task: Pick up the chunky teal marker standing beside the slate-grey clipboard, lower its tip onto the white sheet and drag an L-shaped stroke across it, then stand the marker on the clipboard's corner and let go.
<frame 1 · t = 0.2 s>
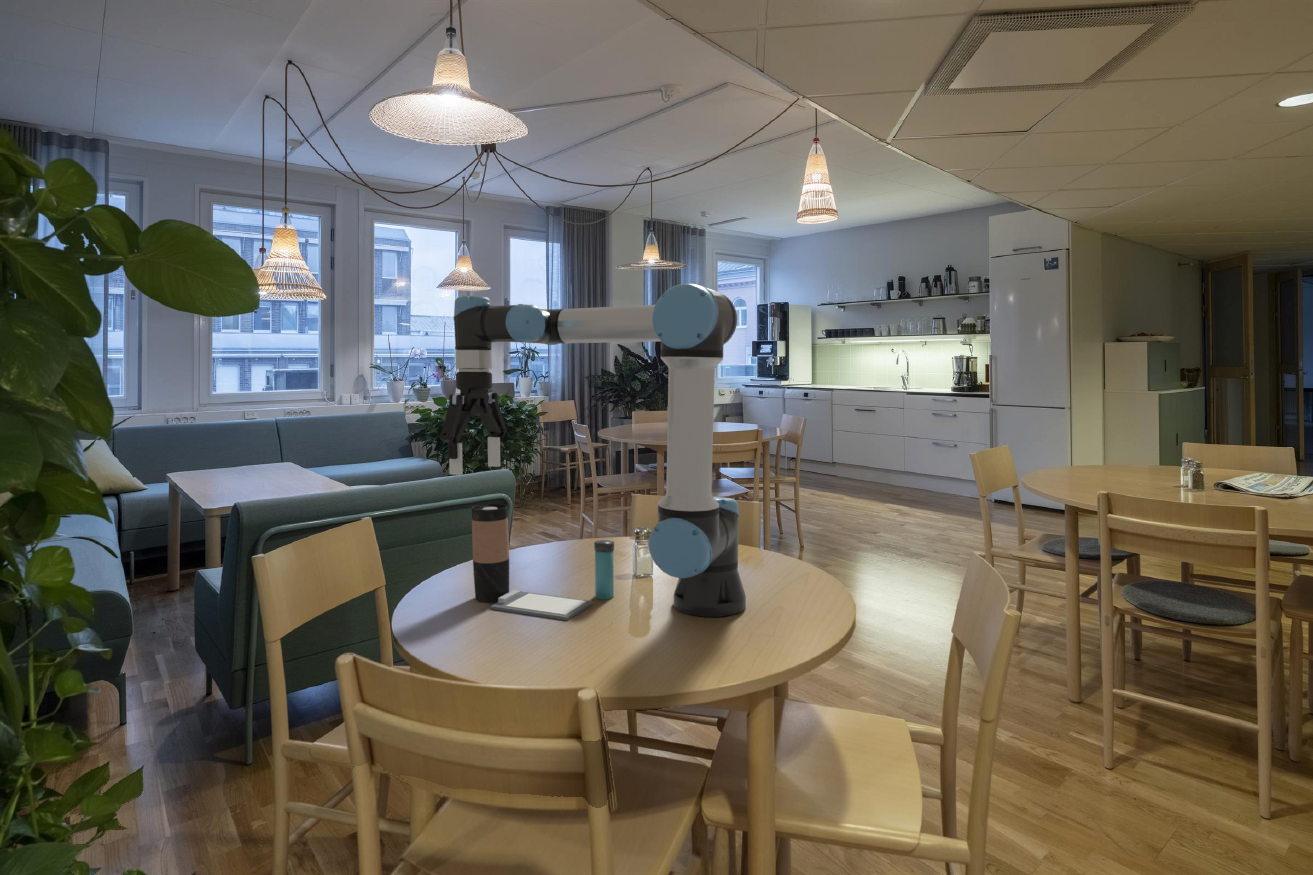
hand: (475, 470, 157), 28 cm above the table, fingers open, 13 cm apart
clipboard: (542, 606, 153), on the table
marker: (604, 596, 160), on the table
travel mug: (492, 598, 158), on the table
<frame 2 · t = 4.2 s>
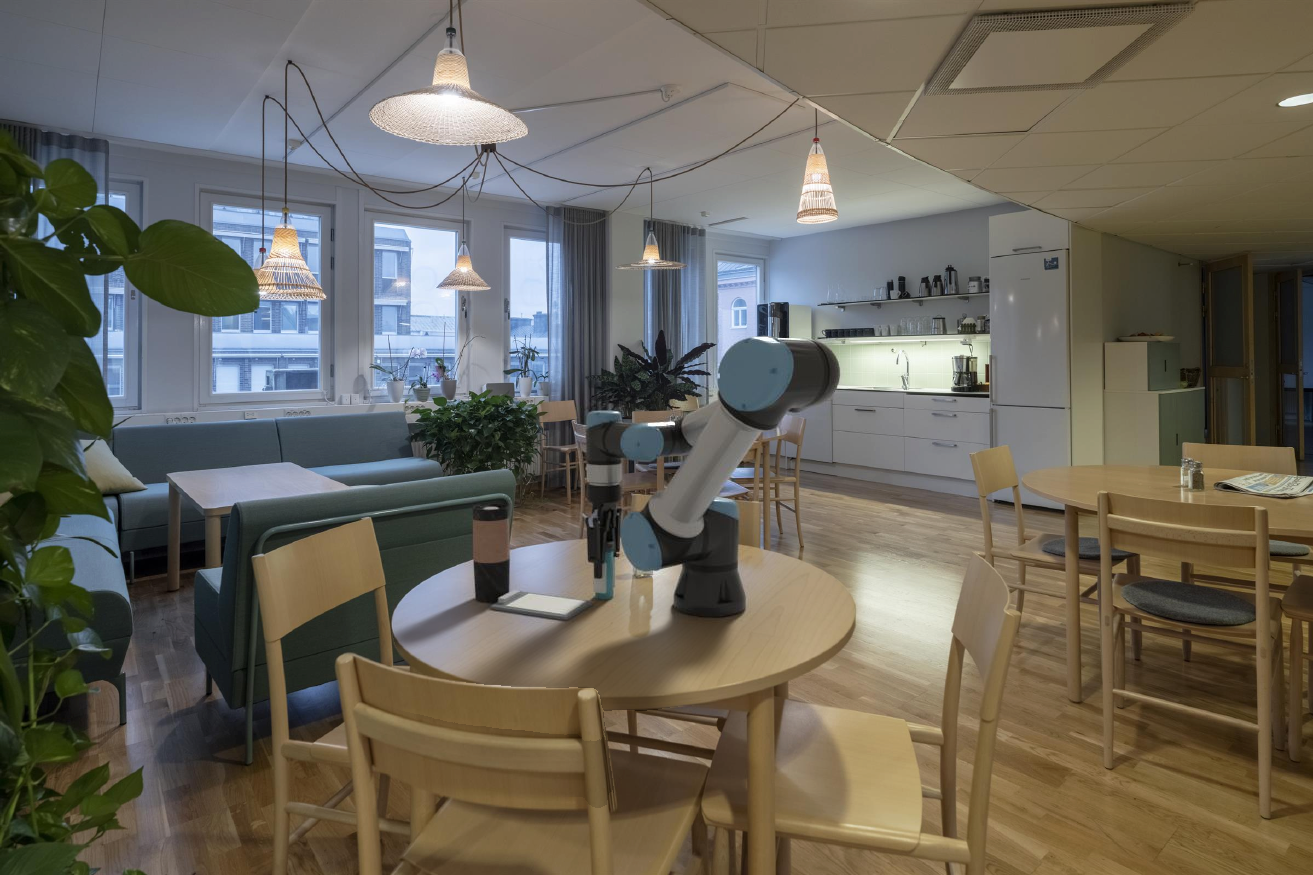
hand: (604, 589, 159), 2 cm above the table, fingers closed on marker, 4 cm apart
marker: (604, 596, 160), on the table, touching gripper
everything else where it was.
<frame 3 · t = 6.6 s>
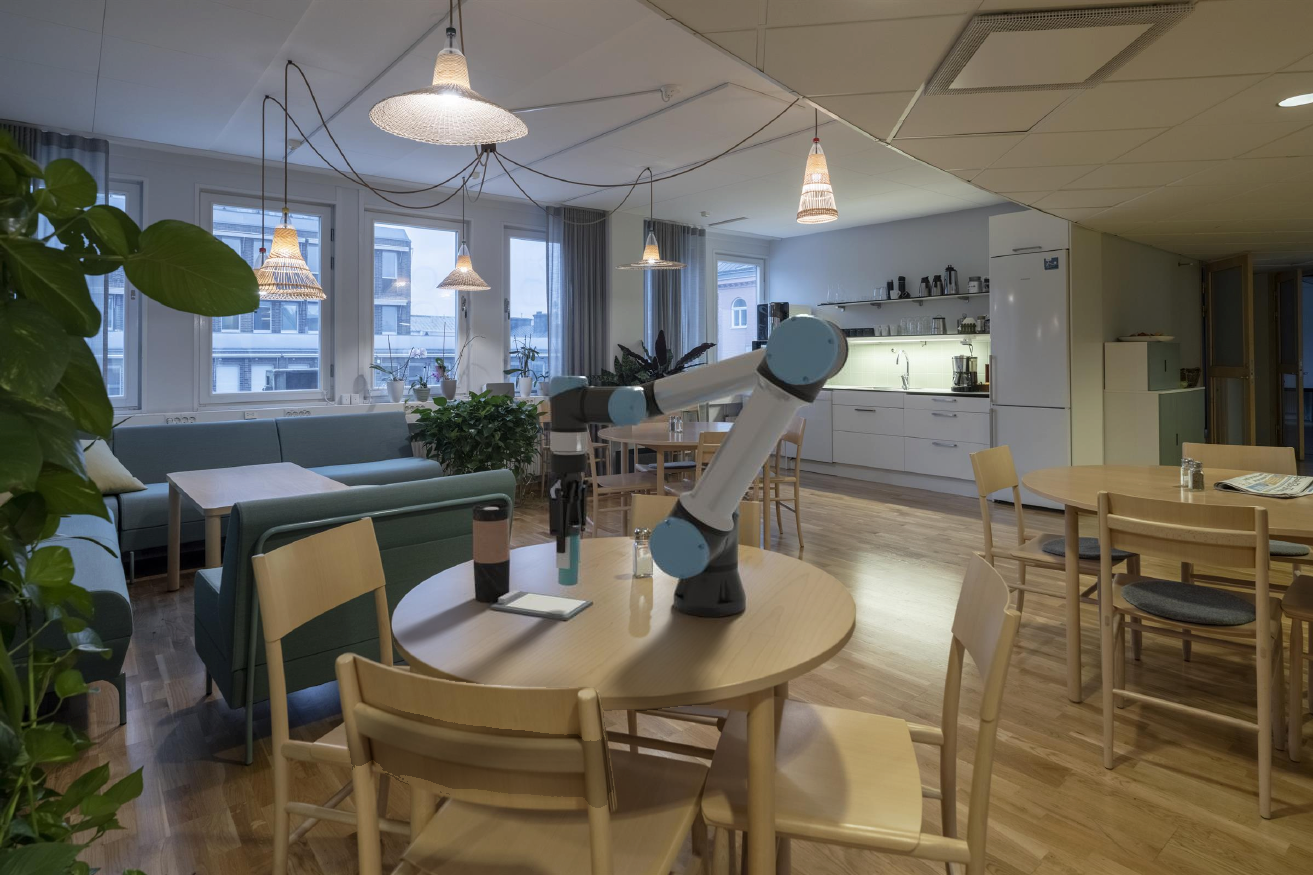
hand: (568, 564, 151), 9 cm above the table, fingers closed on marker, 4 cm apart
marker: (567, 582, 151), point 5 cm above the table, touching gripper
everything else where it was.
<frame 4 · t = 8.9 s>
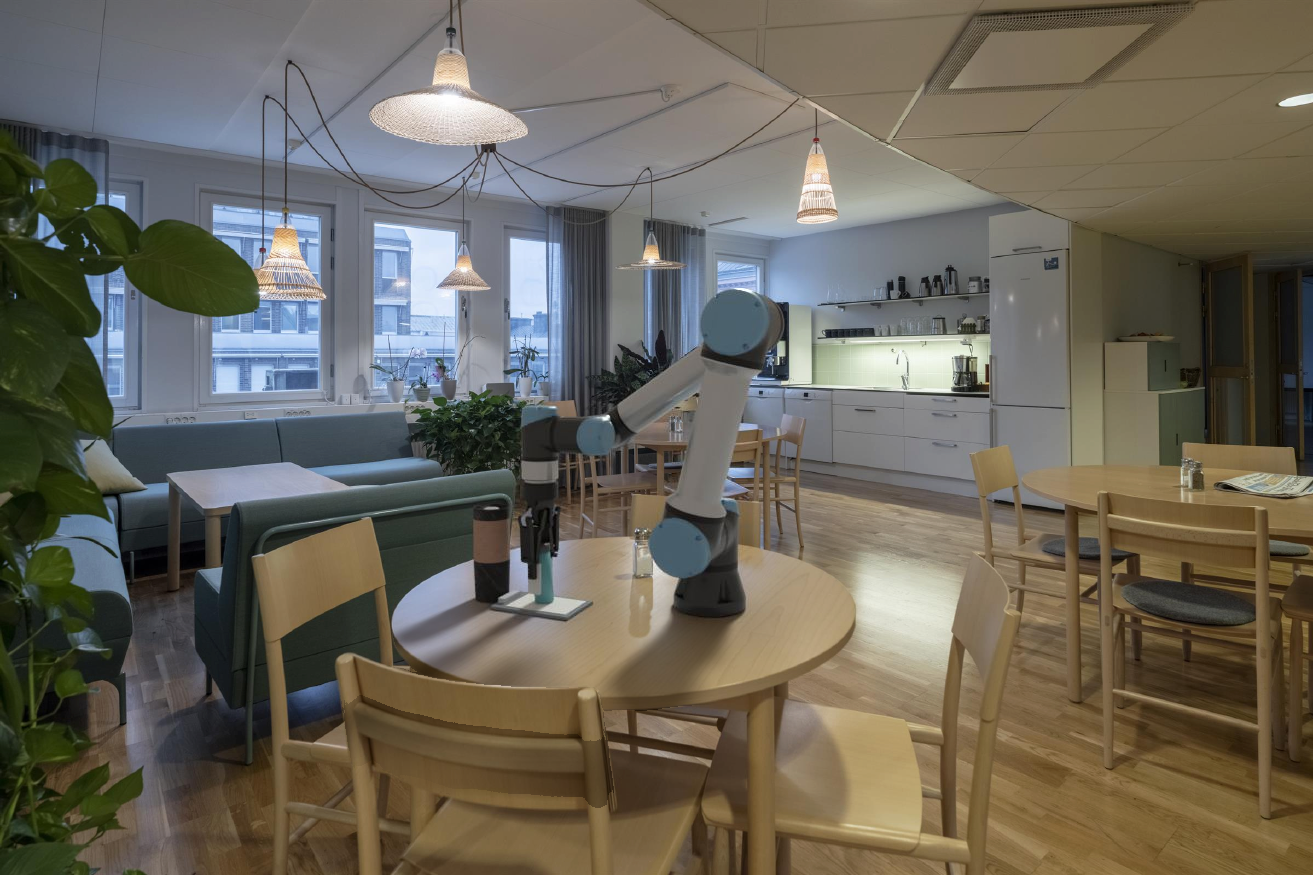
hand: (540, 590, 154), 3 cm above the table, fingers closed on marker, 4 cm apart
marker: (544, 600, 154), point 1 cm above the table, touching gripper
everything else where it was.
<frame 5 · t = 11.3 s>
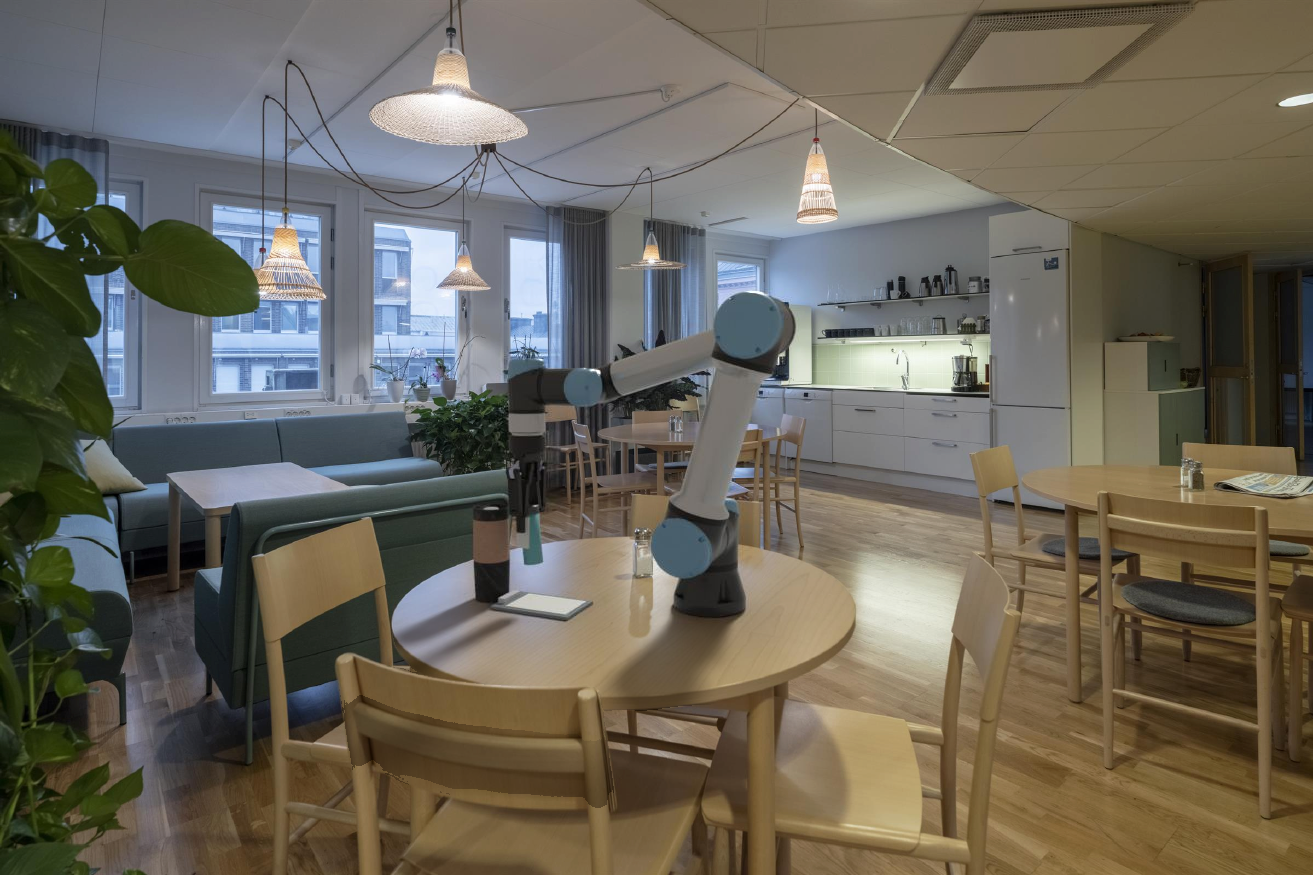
hand: (528, 545, 153), 13 cm above the table, fingers closed on marker, 3 cm apart
marker: (533, 562, 153), point 9 cm above the table, tilted 5°, touching gripper
everything else where it was.
when the fingers open (4 cm above the table, at t = 13.4 s): marker stays where it is, resting on clipboard.
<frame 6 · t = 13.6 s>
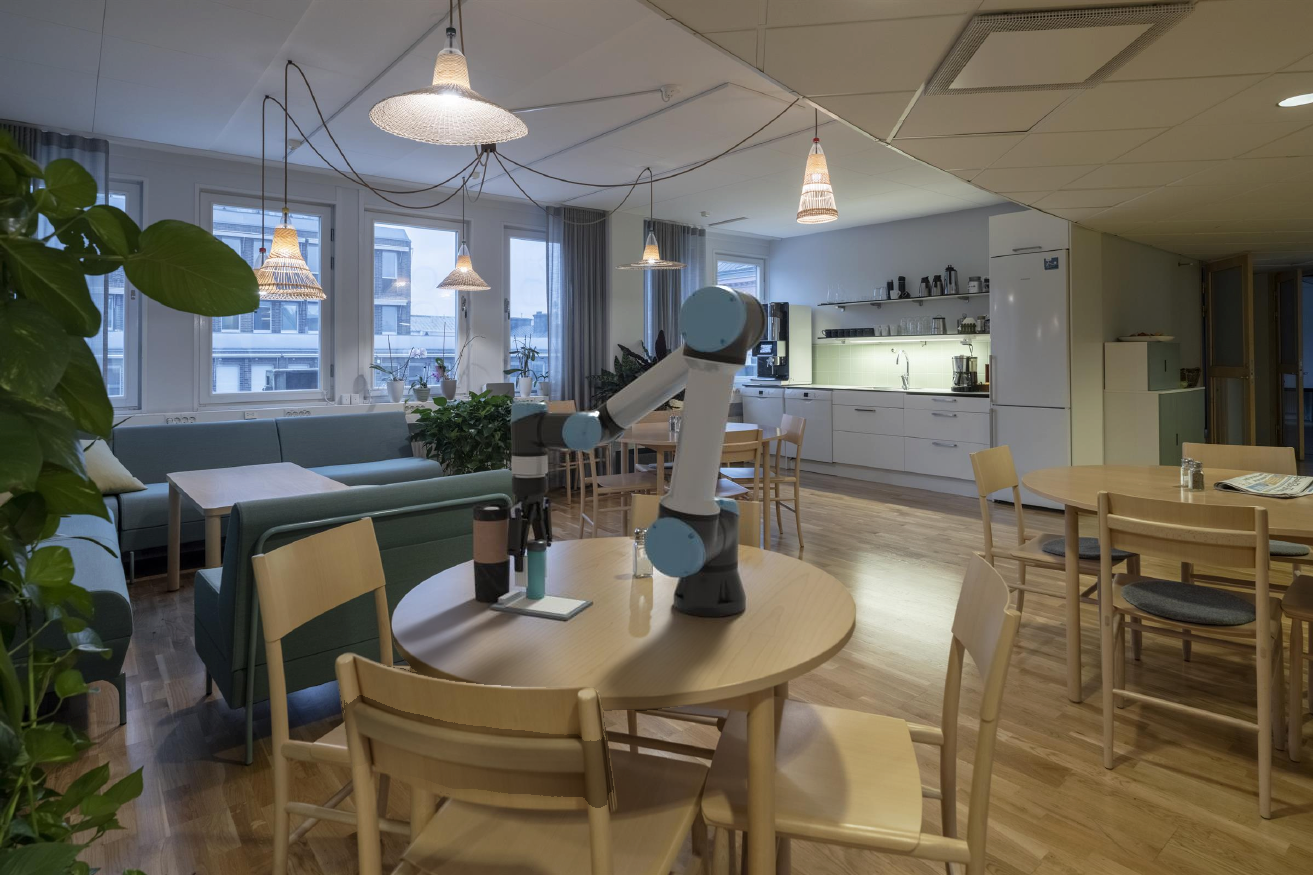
hand: (531, 581, 157), 4 cm above the table, fingers open, 7 cm apart
marker: (535, 596, 157), point 1 cm above the table, touching clipboard
everything else where it was.
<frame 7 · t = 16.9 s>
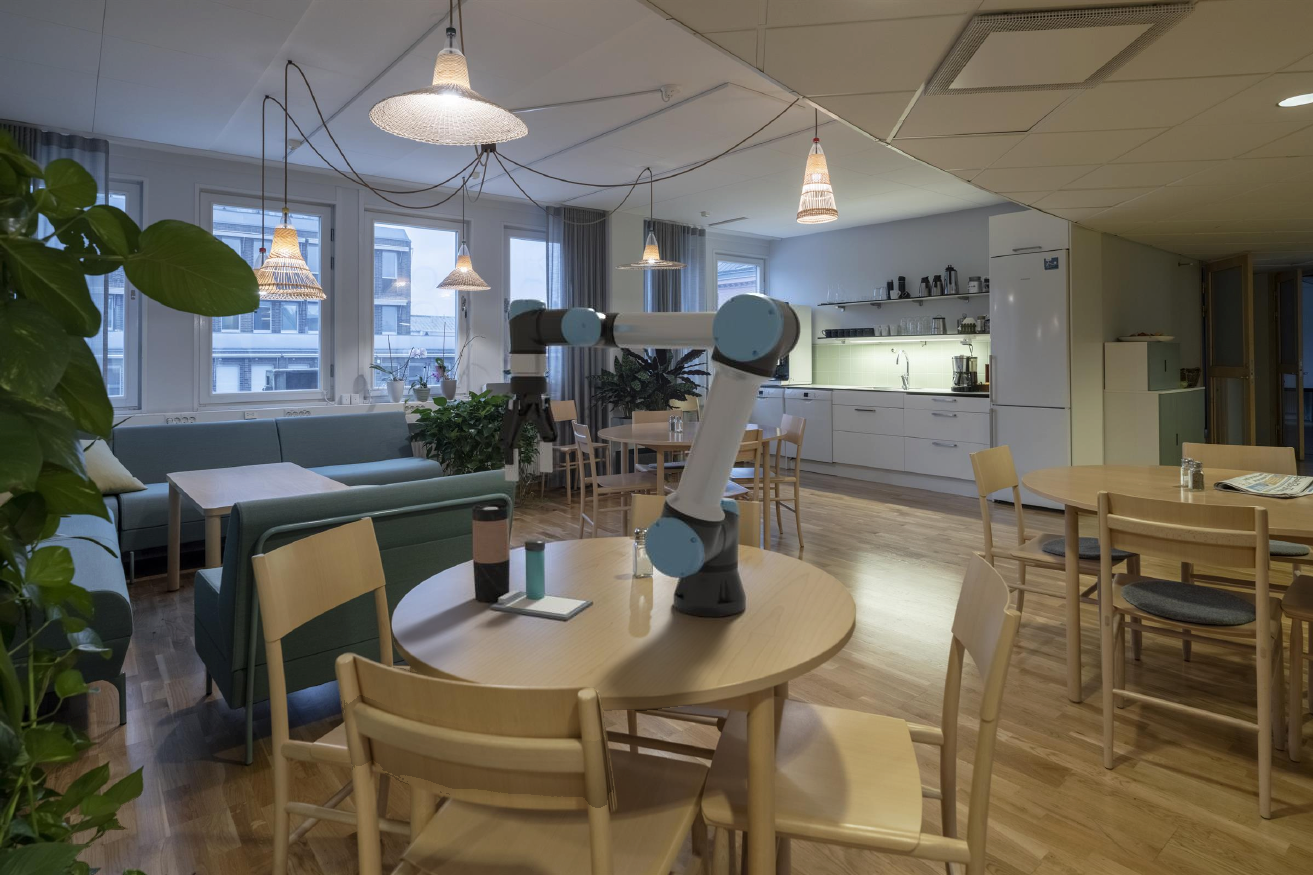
hand: (529, 476, 155), 27 cm above the table, fingers open, 13 cm apart
nothing on the table moved.
at the end: marker inside the target area on the clipboard (4.6 cm from its centre), point 0.8 cm above the clipboard's base; the gripper is holding nothing; marker moved 14.8 cm from its start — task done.
